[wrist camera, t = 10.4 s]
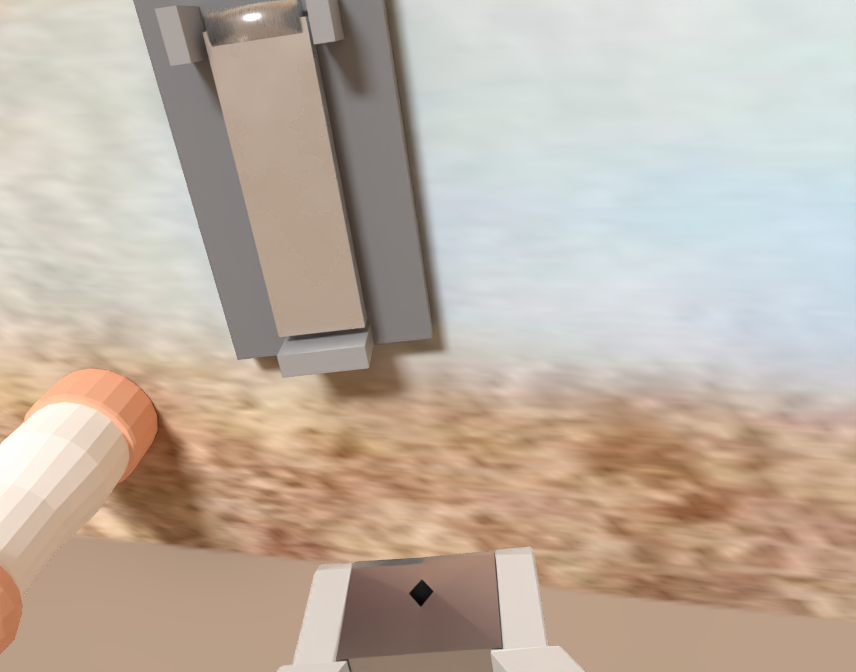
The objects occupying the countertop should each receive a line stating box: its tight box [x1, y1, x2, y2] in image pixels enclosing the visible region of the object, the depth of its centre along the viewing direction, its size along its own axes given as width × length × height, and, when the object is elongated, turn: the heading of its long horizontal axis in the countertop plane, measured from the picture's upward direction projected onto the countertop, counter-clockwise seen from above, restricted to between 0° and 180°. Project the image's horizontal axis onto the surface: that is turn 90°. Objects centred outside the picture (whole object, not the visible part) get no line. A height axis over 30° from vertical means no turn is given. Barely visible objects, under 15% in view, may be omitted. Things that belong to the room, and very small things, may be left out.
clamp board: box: [133, 0, 433, 378], centre depth 36 cm, size 12×20×5 cm, turn 8°
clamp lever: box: [202, 0, 367, 337], centre depth 35 cm, size 5×17×2 cm, turn 8°
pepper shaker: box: [0, 368, 158, 654], centre depth 37 cm, size 7×7×19 cm
